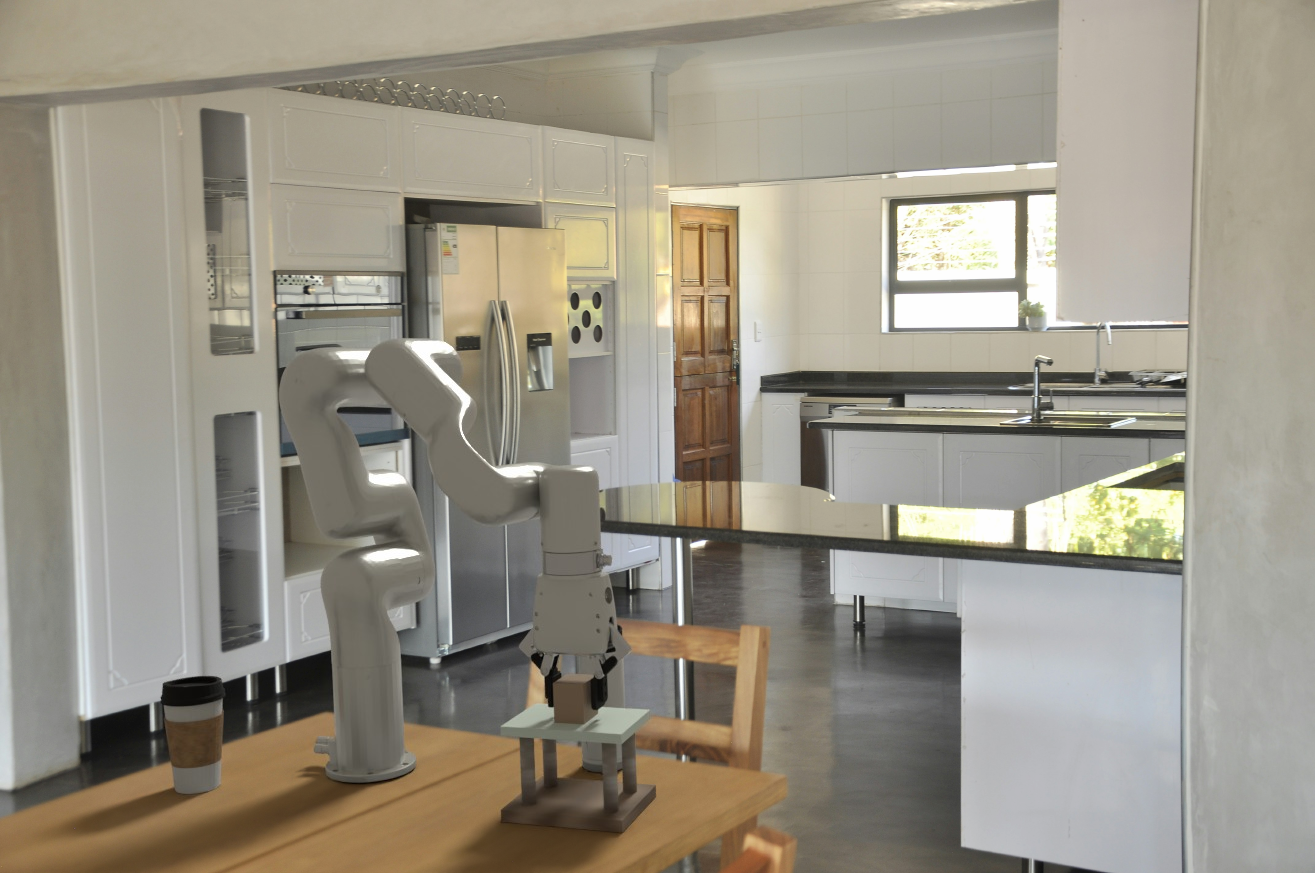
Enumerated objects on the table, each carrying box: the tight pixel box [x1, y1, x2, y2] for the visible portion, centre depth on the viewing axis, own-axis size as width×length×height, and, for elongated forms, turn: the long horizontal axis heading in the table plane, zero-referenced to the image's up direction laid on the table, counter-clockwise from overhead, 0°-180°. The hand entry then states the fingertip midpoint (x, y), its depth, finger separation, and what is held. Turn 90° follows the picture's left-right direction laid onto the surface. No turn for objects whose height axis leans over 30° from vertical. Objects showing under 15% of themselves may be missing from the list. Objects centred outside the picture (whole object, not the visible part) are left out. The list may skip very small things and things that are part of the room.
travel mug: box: [578, 623, 626, 774], centre depth 175 cm, size 6×7×20 cm
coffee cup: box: [160, 675, 226, 795], centre depth 171 cm, size 8×8×15 cm
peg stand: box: [500, 732, 657, 833], centre depth 158 cm, size 16×13×10 cm
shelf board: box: [500, 672, 651, 744], centre depth 158 cm, size 16×11×6 cm
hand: (576, 704), depth 158 cm, fingers open, 5 cm apart
